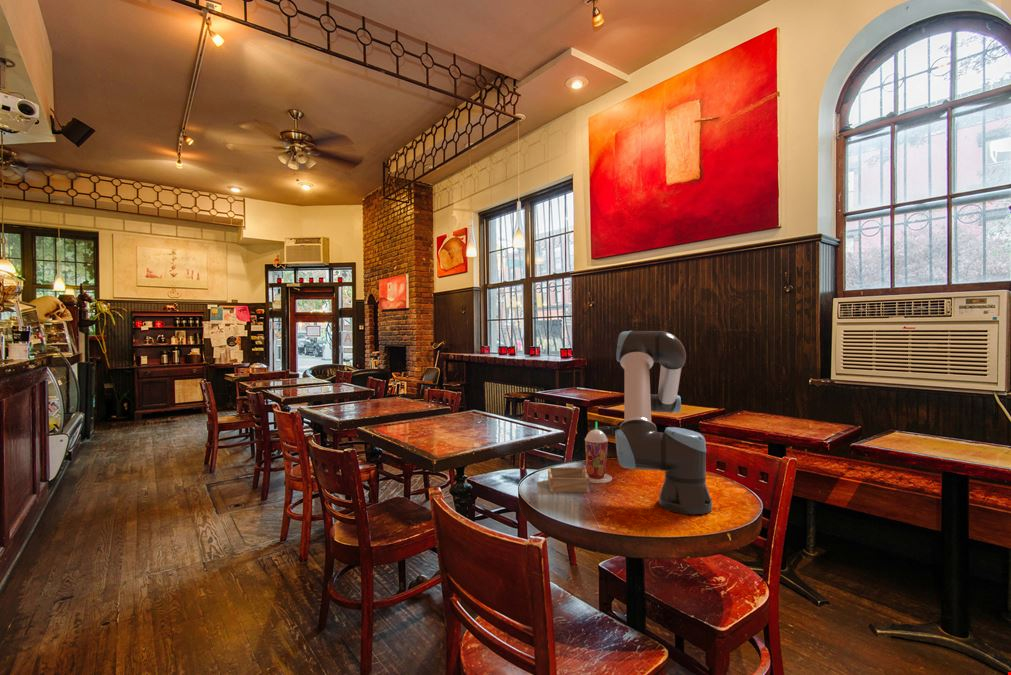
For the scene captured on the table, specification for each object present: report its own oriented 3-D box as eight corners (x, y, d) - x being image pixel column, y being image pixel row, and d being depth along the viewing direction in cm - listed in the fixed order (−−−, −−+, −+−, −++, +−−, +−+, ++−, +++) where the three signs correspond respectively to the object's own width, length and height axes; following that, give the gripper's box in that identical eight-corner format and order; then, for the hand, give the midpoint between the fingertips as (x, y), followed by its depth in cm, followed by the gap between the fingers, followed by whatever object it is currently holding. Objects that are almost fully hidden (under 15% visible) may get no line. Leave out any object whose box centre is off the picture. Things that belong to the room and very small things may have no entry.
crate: (589, 492, 154) (589, 478, 154) (550, 491, 155) (550, 478, 155) (583, 480, 167) (583, 467, 167) (547, 479, 168) (547, 467, 168)
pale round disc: (615, 483, 163) (615, 481, 163) (581, 483, 164) (581, 481, 164) (608, 473, 175) (608, 471, 175) (576, 473, 176) (576, 471, 176)
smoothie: (605, 473, 174) (605, 420, 174) (609, 480, 165) (610, 424, 165) (582, 473, 174) (583, 419, 174) (586, 480, 165) (586, 424, 165)
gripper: (656, 441, 187) (637, 452, 170) (599, 433, 201) (576, 443, 184) (656, 423, 187) (637, 432, 169) (599, 416, 201) (576, 424, 184)
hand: (605, 437), depth 177 cm, fingers open, 13 cm apart
